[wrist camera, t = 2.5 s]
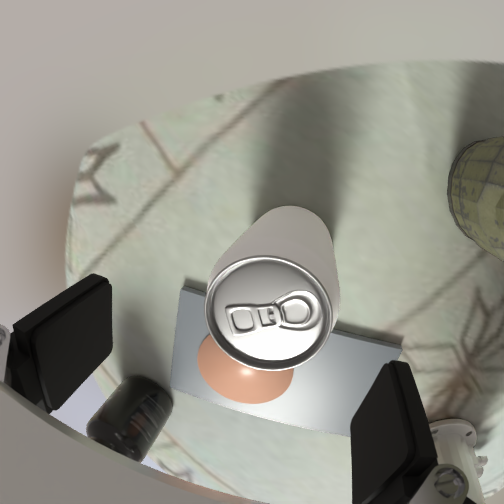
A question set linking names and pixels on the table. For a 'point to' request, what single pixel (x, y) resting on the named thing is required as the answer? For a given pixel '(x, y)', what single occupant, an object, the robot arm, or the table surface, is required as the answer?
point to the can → (275, 291)
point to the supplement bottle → (131, 418)
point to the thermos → (479, 194)
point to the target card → (277, 374)
